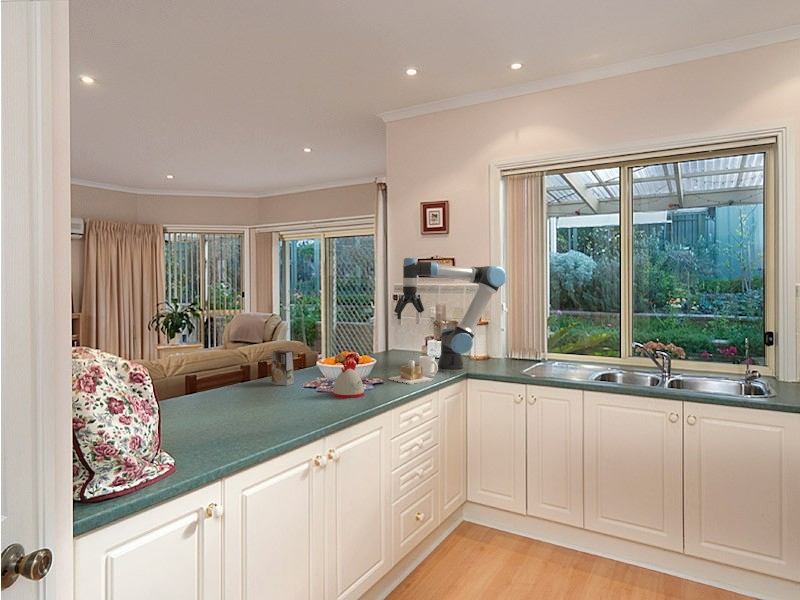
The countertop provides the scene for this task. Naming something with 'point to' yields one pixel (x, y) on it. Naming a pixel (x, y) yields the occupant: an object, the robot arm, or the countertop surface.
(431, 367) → the mug
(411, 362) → the post stand
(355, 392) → the kitchen timer
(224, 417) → the countertop surface
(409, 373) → the collar
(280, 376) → the coffee box
